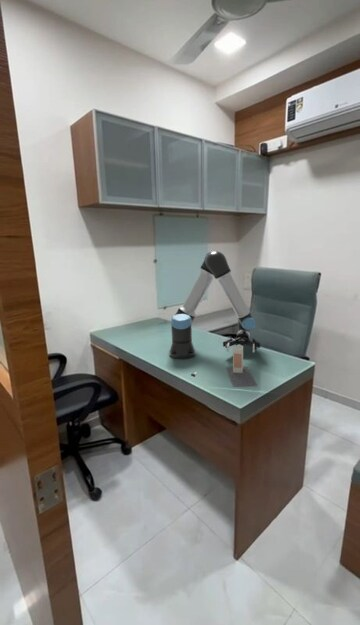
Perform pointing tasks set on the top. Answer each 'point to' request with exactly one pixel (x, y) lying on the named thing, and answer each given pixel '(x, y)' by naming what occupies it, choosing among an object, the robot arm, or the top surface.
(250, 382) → the mat
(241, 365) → the card box
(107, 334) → the top surface
